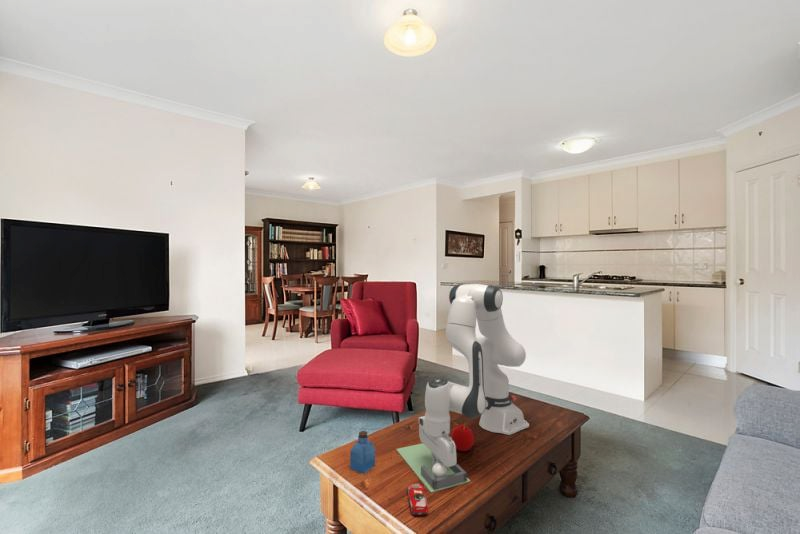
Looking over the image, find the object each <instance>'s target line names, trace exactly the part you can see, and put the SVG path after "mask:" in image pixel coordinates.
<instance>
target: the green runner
mask: <svg viewBox="0 0 800 534" xmlns="http://www.w3.org/2000/svg"><path fill="white" fill-rule="evenodd" d="M395 450H396V452H397V453H398V454H399V455H400V456H401V458H402V459H403V460H404V461H405V463H406V464H407V465H408V466H409V467H410V469H411V470H412V471H413V473H414V474H415V475H416V476H417V477H418V479H419V480H420V481H421V483H422V484H423V486H425V488H426V489H427V490H428V491H429V492H430V493H431V494H432V493H435V492H440V491H442V490H445V489H449V488H452V487H457V486H460V485H464V484H466V483H470V482H471V480H470V479H469V477H467V481H465V482H462V483H458V484H455V485H451V486H447V487H444V488H440V489H437V490H433V488H432V487H431V486H430V485H429V484H428V482H427V481H426V480H425V479H424V478H423V476H422V475H421V466H425V467H426V468H427V470H428V471H429V472H430V473H431V474H432V468H433V466H434V464H433V459H432V456H431V451H430V450H429V449H428V448H427V447H426V446H425V445H424V444H423V443H422V442H421V443H418V444H412V445H409V446H404V447H399V448H396V449H395ZM441 463H442V462H441ZM446 469H447V475H446V476H448V475H452V474H455V473H454V472H453V471H452V470H451V469H450V468H449V467H446ZM432 475H433V474H432ZM435 479H436V478H435Z"/></svg>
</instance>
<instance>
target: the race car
mask: <svg viewBox="0 0 800 534" xmlns="http://www.w3.org/2000/svg"><path fill="white" fill-rule="evenodd" d="M406 488H407V497H408V503H409V508H410V513H411V514H412V515H413V516H415V517H416V516H426V515H428V513H429V505H428V504H429V503H428V500H427V496H426V492H425V491H426V489H427V488H424V484H423V485H422V484H421V483H419V482H411V483H410V484H408V485H407V487H406Z"/></svg>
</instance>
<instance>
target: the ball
mask: <svg viewBox="0 0 800 534" xmlns="http://www.w3.org/2000/svg"><path fill="white" fill-rule="evenodd" d="M432 474H433V476H434V477H435V478H436V479H437V478H440V477H444V476H446V475H447V469H446V466H445V465H444V464H443V463H436V464H434V466H433V468H432Z"/></svg>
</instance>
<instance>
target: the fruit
mask: <svg viewBox="0 0 800 534" xmlns="http://www.w3.org/2000/svg"><path fill="white" fill-rule="evenodd" d="M450 437H451V438H452V440H453V441H454V443H455V446H456V451H459V452H466V451H469V450H471V448H472V447H473V445H474V443H475V435H474V432H473V430H472V429H471V428H470V427H469V426H468V425H466V423H464V424H459V425H457V426H455V427H454V428H453V430H452V431H451V434H450Z"/></svg>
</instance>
